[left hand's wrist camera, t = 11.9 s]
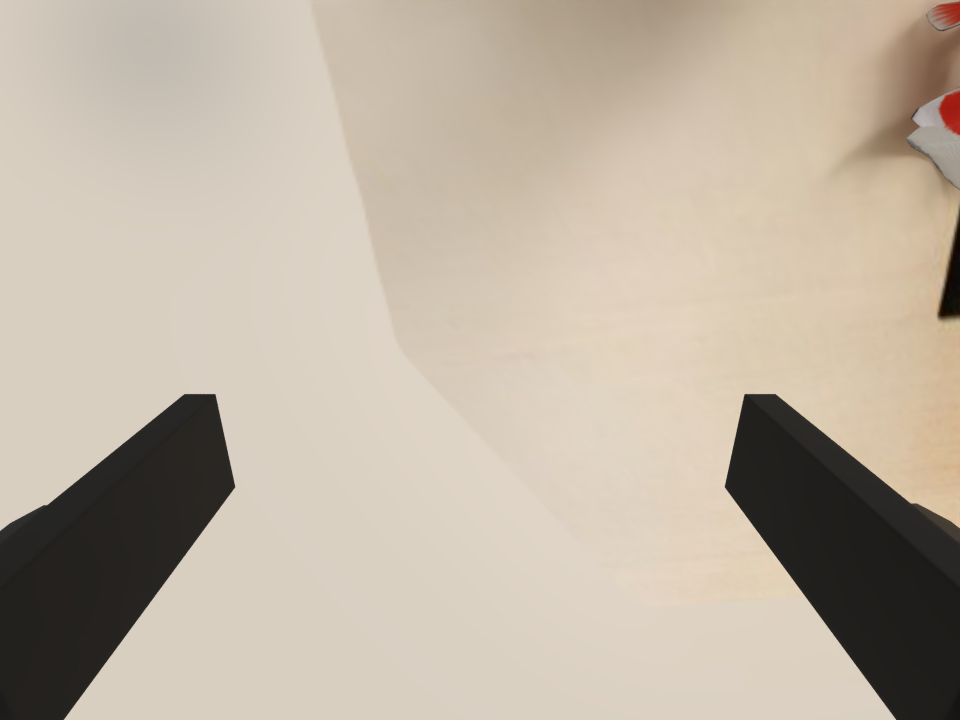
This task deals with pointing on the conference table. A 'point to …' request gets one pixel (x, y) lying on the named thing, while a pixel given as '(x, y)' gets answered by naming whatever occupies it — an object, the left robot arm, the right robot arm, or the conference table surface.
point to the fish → (941, 112)
